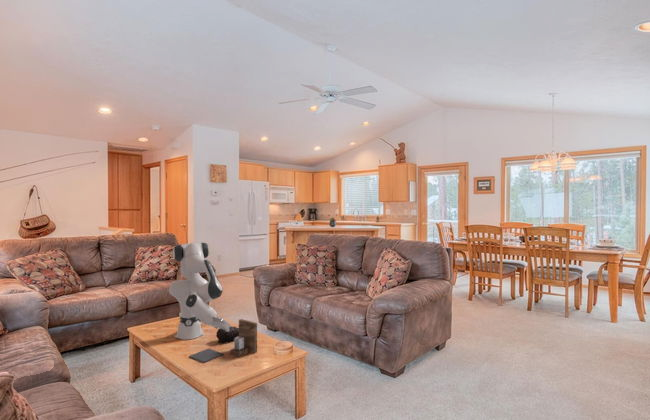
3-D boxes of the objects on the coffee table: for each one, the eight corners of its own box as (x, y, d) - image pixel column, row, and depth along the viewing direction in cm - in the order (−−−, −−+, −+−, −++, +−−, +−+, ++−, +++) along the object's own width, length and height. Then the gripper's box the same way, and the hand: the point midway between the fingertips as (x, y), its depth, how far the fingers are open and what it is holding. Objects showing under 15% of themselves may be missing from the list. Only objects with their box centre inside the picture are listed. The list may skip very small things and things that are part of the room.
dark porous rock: (245, 338, 248) (245, 323, 248) (222, 345, 235) (221, 330, 235) (236, 334, 255) (236, 320, 255) (213, 341, 242) (213, 326, 242)
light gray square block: (239, 355, 218) (238, 339, 218) (234, 354, 221) (234, 337, 221) (244, 353, 222) (244, 337, 222) (239, 352, 224) (239, 336, 224)
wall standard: (242, 358, 214) (242, 328, 214) (226, 353, 222) (226, 323, 222) (257, 352, 224) (257, 323, 224) (241, 347, 232) (241, 319, 232)
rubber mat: (189, 357, 216) (189, 355, 216) (208, 349, 228) (208, 348, 228) (204, 363, 208) (204, 361, 208) (223, 354, 220) (223, 353, 220)
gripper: (224, 314, 198) (238, 327, 206) (200, 308, 210) (214, 321, 218) (217, 324, 195) (231, 337, 203) (193, 318, 206) (208, 330, 214)
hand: (222, 328), depth 211 cm, fingers open, 8 cm apart
